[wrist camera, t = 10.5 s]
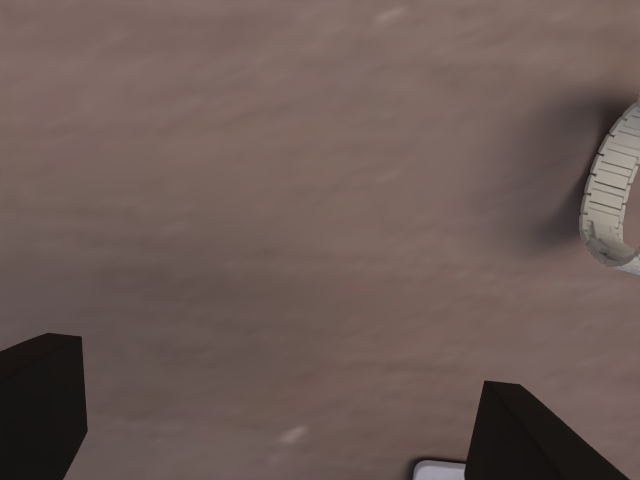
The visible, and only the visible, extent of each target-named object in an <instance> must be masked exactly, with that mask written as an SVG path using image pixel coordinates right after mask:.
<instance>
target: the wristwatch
mask: <svg viewBox="0 0 640 480" xmlns="http://www.w3.org/2000/svg"><path fill="white" fill-rule="evenodd" d="M638 95H639V97H638V99H637V102H634V103H633V104H632V105H631V106H630V107H629V108H628V109H627V110H626V111H625V112H624V113H623V115H622V116H621V117H620V118H619V119H618V120H617V121H616V123H615V124H614V125H613V127H612V128H611V129H610V131H609V133H610V134H607V135H606V137H605V139H604V140H603V142H602V144H601V146H600V148H599V150H598V153H600V154H602V155H599V154H597V155H596V157H595V159H594V162H593V164H592V167H591V170H590V173H591V174H594V175H589V177H588V179H587V182H586V186H585V190H584V193H585V194H588V195H584V196H583V199H582V204H581V209H580V213H582V214H581V215H580V217H579V231H580V232H581V233H580V237H581V240H582V242H583V244H584V245H587V249H588V251H589V252H590V253H591V254H592V255H593V256H594V258H595V259H597V260H598V261H599V262H601V263H603V264H605V265H606V266H608V267H611V268H615V269H619V270H622V271H626V272H629V273H633V274H637V275H640V247H639V248H638V249H637V250H635V249H633V248H632V247H631V246H629V245H625V244H624V242H623V241H622V240H623V227H622V225H621V223H623V219H624V214H625V208H626V206H625V205H622V204H626V203H627V199H628V196H629V192H630V188H631V186H630V185H627V184H632V182H633V180H634V177H635V175H636V172H637V170H638V167H639V166H638V165H635V163H637V164H640V89H639V90H638ZM611 134H612V135H611ZM608 149H609V150H608ZM611 150H612V151H611ZM615 151H616V152H615ZM618 152H619V153H618ZM622 153H623V154H622ZM625 154H626V155H625ZM629 155H630V156H629ZM632 156H633V157H632ZM601 161H604V162H601ZM605 162H607V163H605ZM608 163H611V164H608ZM612 164H615V165H618V166H615V165H612ZM619 166H622V167H619ZM623 167H625V168H623ZM626 168H629V169H626ZM599 169H600V170H599ZM603 170H604V171H603ZM606 171H608V172H606ZM610 172H611V173H610ZM614 173H615V174H614ZM617 174H618V175H617ZM621 175H622V176H621ZM624 176H625V177H624ZM596 182H597V183H596ZM600 183H601V184H600ZM603 184H605V185H603ZM607 185H608V186H607ZM611 186H612V187H611ZM614 187H615V188H614ZM618 188H619V189H618ZM621 189H622V190H621Z"/></svg>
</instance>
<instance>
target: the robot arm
mask: <svg viewBox="0 0 640 480" xmlns="http://www.w3.org/2000/svg"><path fill="white" fill-rule="evenodd" d="M87 431H88V428H87V413H86V398H85V383H84V368H83V353H82V337H81V336H72V335H63V334H54V333H46V334H43V335H40V336H37V337H35V338H32V339H29V340H27V341H24V342H22V343H19V344H17V345H14V346H12V347H10V348H7V349H5V350H3V351H0V480H63V478H64V477H65V475H66V473H67V471H68V469H69V467H70V465H71V463H72V462H73V460H74V458H75V456H76V454H77V452H78V450H79V448H80V446H81V444H82V441H83V439H84V437H85V435H86V433H87ZM413 480H630V479H628V478H627V477H626V476H625V475H624V474H622V473H621V472H620V471H619V470H618V469H616V468H615V467H614V466H613V465H612V464H611V463H609V462H608V461H607V460H606V459H605V458H604V457H602V456H601V455H600V454H599V453H598V452H597V451H596V450H594V449H593V448H592V447H591V446H590V445H589V444H588V443H586V442H585V441H584V440H583V439H582V438H581V437H580V436H579V435H577V434H576V433H575V432H574V431H573V430H572V429H571V428H570V427H568V426H567V425H566V424H565V423H564V422H563V421H562V420H561V419H560V418H558V417H557V416H556V415H555V414H554V413H553V412H552V411H551V410H549V409H548V408H547V407H546V406H545V405H544V404H543V403H542V402H540V401H539V400H538V399H537V398H536V397H535V396H533V395H532V394H531V393H530V392H529V391H527V390H526V389H525V388H524V387H522V386H521V385H520V384H512V383H503V382H494V381H485V380H484V385H483V389H482V394H481V398H480V403H479V407H478V412H477V416H476V421H475V425H474V430H473V434H472V439H471V443H470V448H469V452H468V457H467V461H466V464H460V463H450V462H441V461H431V460H424V461H421V462H419V463H418V464H417V465H416V467H415V469H414V474H413Z"/></svg>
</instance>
